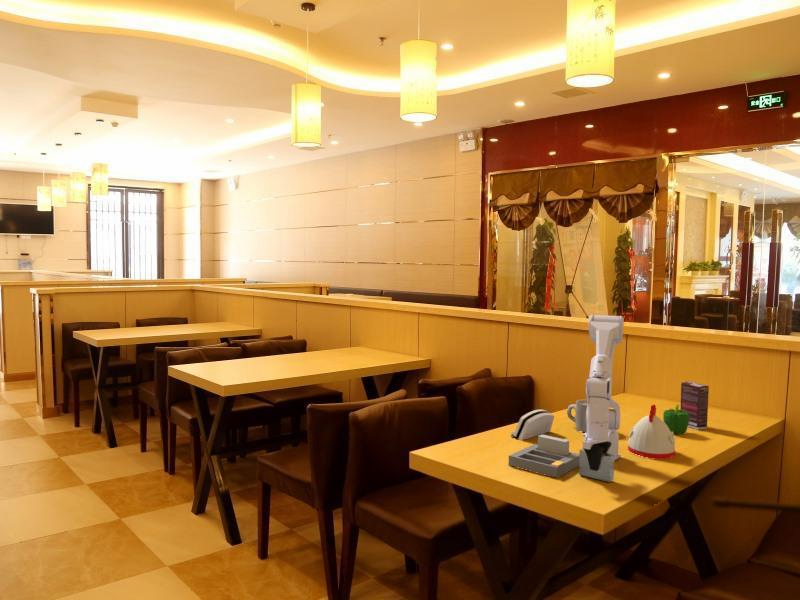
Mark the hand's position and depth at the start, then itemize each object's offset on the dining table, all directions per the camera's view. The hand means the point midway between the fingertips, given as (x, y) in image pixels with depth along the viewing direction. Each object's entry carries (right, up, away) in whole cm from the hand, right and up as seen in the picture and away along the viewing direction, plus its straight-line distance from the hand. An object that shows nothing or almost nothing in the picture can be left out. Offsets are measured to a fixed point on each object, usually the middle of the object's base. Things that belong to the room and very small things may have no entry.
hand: (596, 468), depth 173 cm
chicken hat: (+25, -2, +24) cm, 35 cm away
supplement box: (+53, 0, +55) cm, 76 cm away
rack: (-12, -2, +11) cm, 16 cm away
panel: (0, -3, 0) cm, 2 cm away
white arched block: (-8, 0, +42) cm, 43 cm away
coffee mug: (+12, 0, +50) cm, 52 cm away
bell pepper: (+43, 0, +46) cm, 63 cm away
